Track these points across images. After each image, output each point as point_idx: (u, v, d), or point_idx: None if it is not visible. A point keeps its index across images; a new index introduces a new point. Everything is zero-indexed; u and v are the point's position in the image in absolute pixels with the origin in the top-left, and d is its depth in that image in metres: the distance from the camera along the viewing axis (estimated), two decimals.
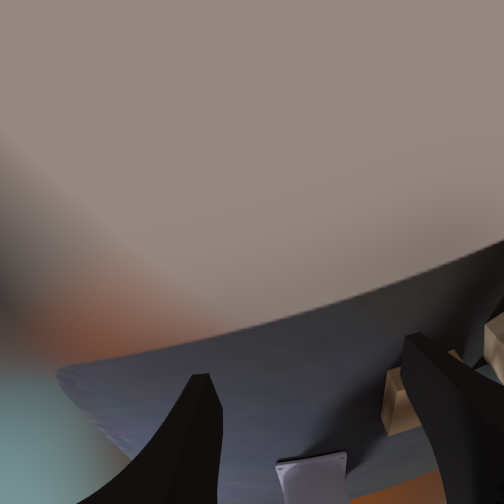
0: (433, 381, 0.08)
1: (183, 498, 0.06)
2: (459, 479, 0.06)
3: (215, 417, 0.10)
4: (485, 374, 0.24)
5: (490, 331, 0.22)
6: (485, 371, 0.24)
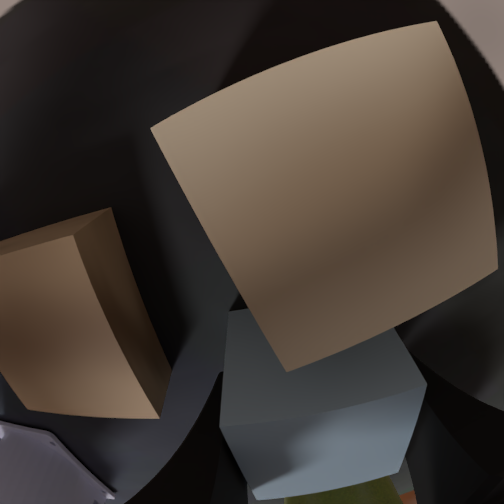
0: None
1: (223, 498, 0.06)
2: (429, 492, 0.06)
3: None
4: None
5: None
6: None
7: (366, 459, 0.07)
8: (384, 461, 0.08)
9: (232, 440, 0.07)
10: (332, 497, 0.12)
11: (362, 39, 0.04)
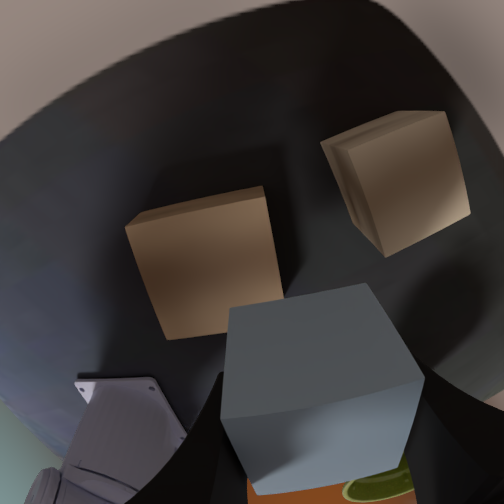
0: None
1: (223, 498, 0.06)
2: (429, 492, 0.06)
3: None
4: (282, 320, 0.10)
5: (325, 146, 0.15)
6: (288, 312, 0.10)
7: (365, 453, 0.08)
8: (383, 455, 0.08)
9: (233, 433, 0.07)
10: None
11: (417, 122, 0.11)
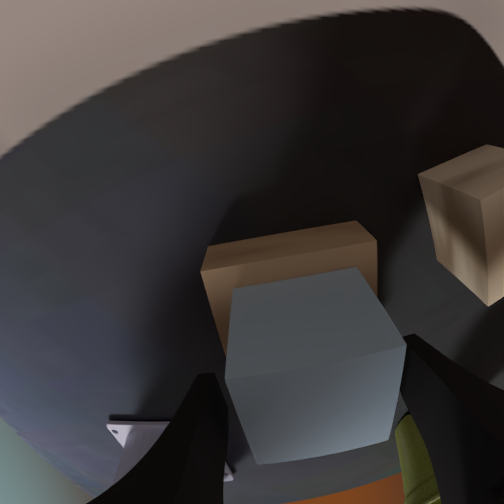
0: (427, 383, 0.08)
1: (191, 498, 0.06)
2: (453, 482, 0.06)
3: (221, 417, 0.10)
4: (280, 298, 0.11)
5: (428, 181, 0.13)
6: (285, 291, 0.12)
7: (357, 421, 0.09)
8: (373, 425, 0.09)
9: (235, 394, 0.08)
10: None
11: None
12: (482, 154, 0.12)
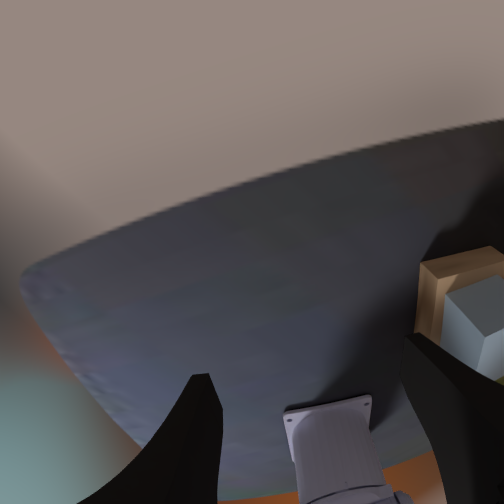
0: (433, 381, 0.08)
1: (183, 498, 0.06)
2: (459, 479, 0.06)
3: (215, 417, 0.10)
4: (475, 295, 0.17)
5: None
6: (474, 292, 0.17)
7: None
8: None
9: (484, 345, 0.14)
10: None
11: None
12: None
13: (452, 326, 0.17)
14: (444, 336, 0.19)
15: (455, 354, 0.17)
